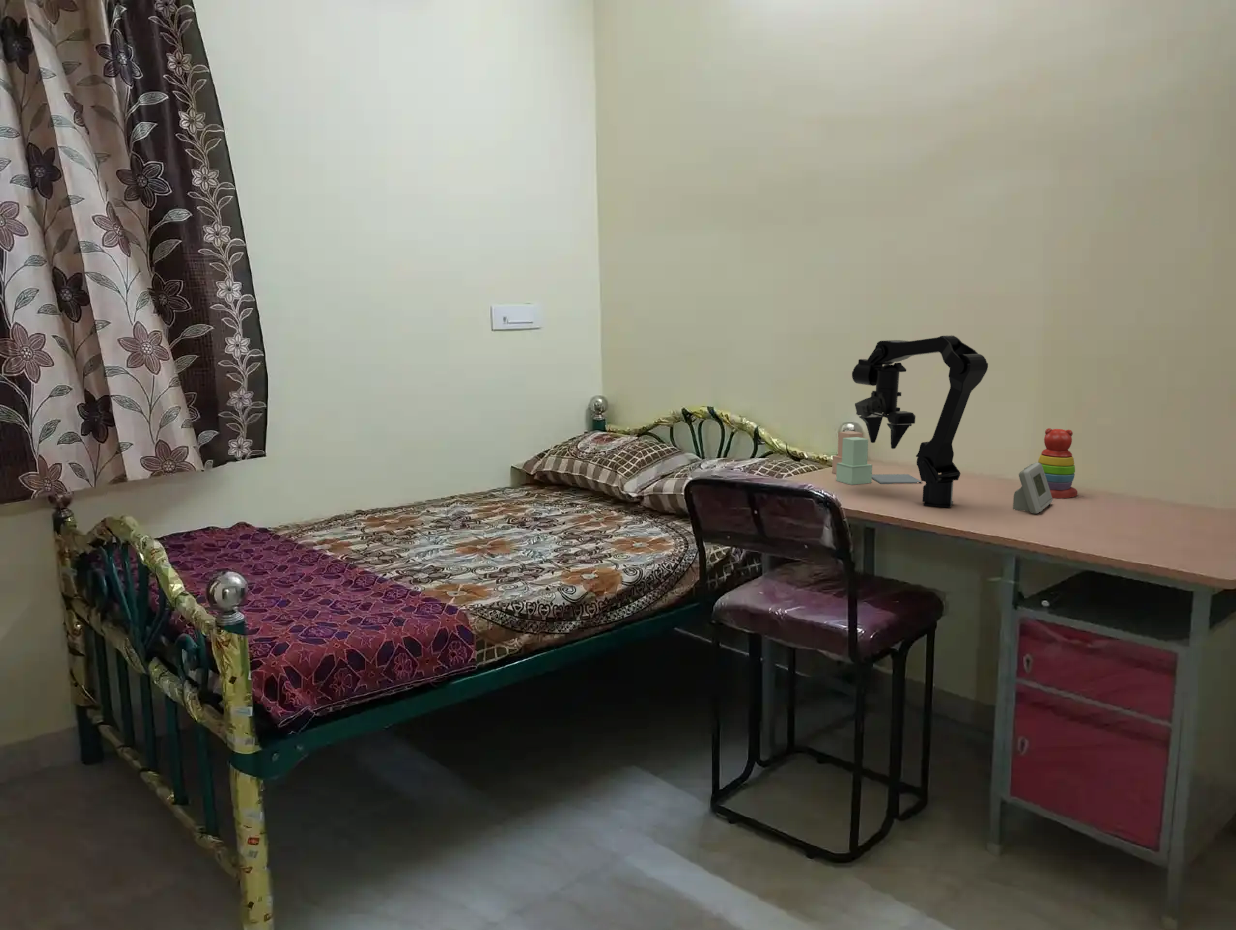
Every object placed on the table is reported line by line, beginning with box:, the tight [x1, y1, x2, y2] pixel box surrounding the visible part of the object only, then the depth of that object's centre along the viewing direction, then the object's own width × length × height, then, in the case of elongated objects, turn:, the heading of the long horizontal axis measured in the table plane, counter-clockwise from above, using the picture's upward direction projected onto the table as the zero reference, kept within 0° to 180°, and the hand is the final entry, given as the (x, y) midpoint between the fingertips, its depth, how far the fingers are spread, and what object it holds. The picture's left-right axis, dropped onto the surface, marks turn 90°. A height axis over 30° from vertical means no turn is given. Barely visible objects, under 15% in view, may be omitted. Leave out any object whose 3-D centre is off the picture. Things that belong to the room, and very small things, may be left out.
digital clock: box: [1012, 461, 1054, 515], centre depth 232 cm, size 16×9×11 cm, turn 133°
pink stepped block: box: [831, 430, 864, 475], centre depth 279 cm, size 7×7×12 cm
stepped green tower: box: [835, 437, 873, 486], centre depth 266 cm, size 7×7×12 cm
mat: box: [872, 473, 923, 485], centre depth 270 cm, size 12×12×1 cm
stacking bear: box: [1037, 428, 1078, 499], centre depth 247 cm, size 11×10×18 cm
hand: (882, 445), depth 251 cm, fingers open, 9 cm apart
